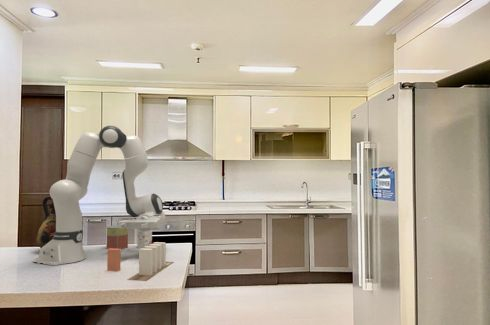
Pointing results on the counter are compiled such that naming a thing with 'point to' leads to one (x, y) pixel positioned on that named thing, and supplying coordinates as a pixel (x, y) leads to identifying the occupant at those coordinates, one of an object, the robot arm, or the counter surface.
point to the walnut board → (147, 277)
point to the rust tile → (113, 259)
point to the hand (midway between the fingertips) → (130, 226)
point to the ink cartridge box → (144, 238)
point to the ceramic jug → (47, 224)
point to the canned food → (117, 237)
